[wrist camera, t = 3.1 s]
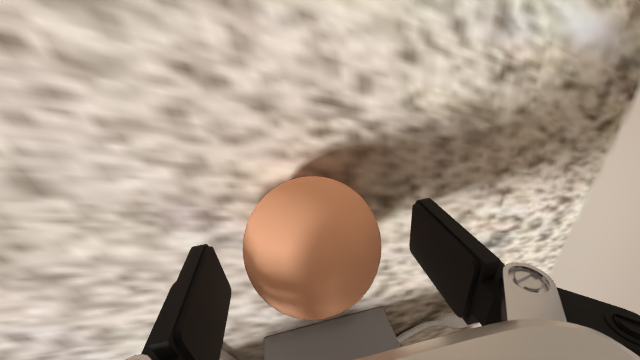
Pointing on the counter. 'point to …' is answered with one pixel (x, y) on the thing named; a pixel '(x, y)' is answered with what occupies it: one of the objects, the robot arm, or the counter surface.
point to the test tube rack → (225, 356)
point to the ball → (312, 247)
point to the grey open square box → (335, 339)
